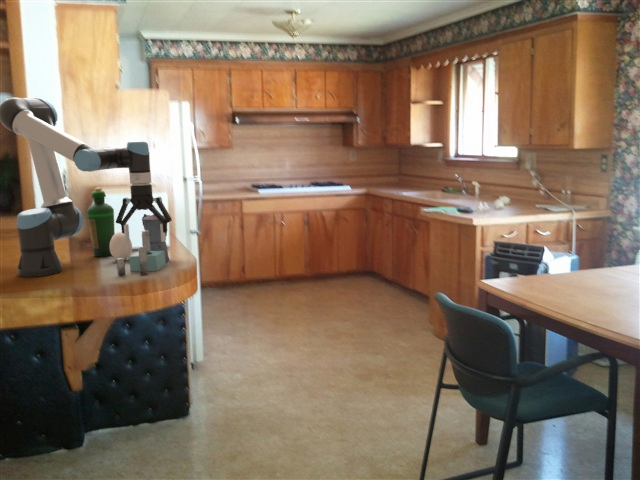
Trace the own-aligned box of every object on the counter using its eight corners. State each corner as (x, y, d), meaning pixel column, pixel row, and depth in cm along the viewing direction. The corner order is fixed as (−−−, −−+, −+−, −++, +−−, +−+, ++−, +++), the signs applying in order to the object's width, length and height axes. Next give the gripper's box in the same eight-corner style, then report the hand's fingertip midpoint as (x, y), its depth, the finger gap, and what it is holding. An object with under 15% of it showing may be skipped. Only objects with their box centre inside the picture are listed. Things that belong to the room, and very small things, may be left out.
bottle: (98, 252, 275) (92, 187, 271) (122, 252, 274) (116, 186, 269) (86, 257, 265) (79, 189, 260) (110, 257, 263) (104, 189, 259)
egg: (106, 261, 256) (103, 232, 254) (124, 257, 263) (122, 229, 261) (119, 263, 251) (116, 234, 249) (138, 259, 257) (135, 231, 255)
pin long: (145, 267, 241) (142, 230, 239) (152, 267, 241) (149, 230, 239) (143, 268, 239) (140, 231, 236) (150, 268, 238) (147, 231, 236)
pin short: (116, 276, 228) (115, 259, 227) (119, 274, 231) (118, 258, 230) (124, 276, 228) (122, 259, 227) (126, 274, 231) (125, 257, 230)
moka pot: (159, 265, 244) (155, 212, 241) (134, 261, 254) (129, 210, 250) (179, 260, 252) (175, 209, 248) (153, 257, 261) (149, 207, 258)
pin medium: (138, 275, 228) (137, 247, 226) (141, 273, 230) (140, 246, 229) (145, 275, 227) (144, 247, 226) (148, 273, 230) (147, 246, 228)
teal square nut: (130, 271, 235) (129, 256, 234) (139, 265, 245) (138, 251, 244) (157, 270, 235) (156, 255, 234) (165, 264, 244) (164, 250, 243)
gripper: (103, 186, 232) (108, 244, 235) (171, 184, 230) (175, 242, 234) (111, 184, 239) (116, 240, 243) (177, 182, 237) (181, 239, 241)
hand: (145, 241), depth 238 cm, fingers open, 13 cm apart
